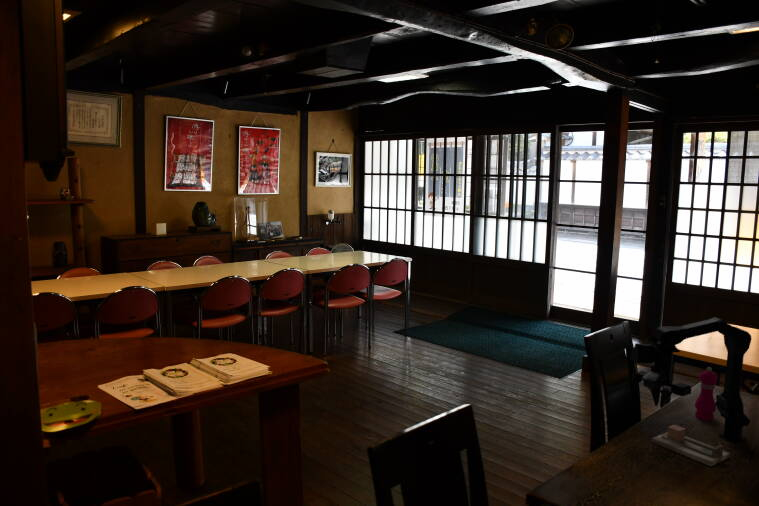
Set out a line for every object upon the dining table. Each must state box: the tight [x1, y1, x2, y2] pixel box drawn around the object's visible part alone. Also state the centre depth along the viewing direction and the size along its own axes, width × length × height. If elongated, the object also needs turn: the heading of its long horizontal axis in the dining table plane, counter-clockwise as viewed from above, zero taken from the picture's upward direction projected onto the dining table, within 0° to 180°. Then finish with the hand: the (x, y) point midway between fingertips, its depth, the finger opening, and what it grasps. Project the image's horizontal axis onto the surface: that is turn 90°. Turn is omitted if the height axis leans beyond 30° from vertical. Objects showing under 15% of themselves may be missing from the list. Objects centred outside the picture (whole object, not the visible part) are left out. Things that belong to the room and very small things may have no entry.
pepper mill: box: [694, 366, 718, 421], centre depth 226 cm, size 7×7×20 cm
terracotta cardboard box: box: [667, 424, 687, 442], centre depth 203 cm, size 4×4×4 cm
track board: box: [651, 431, 731, 467], centre depth 199 cm, size 12×20×4 cm, turn 34°
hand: (658, 406), depth 207 cm, fingers closed
